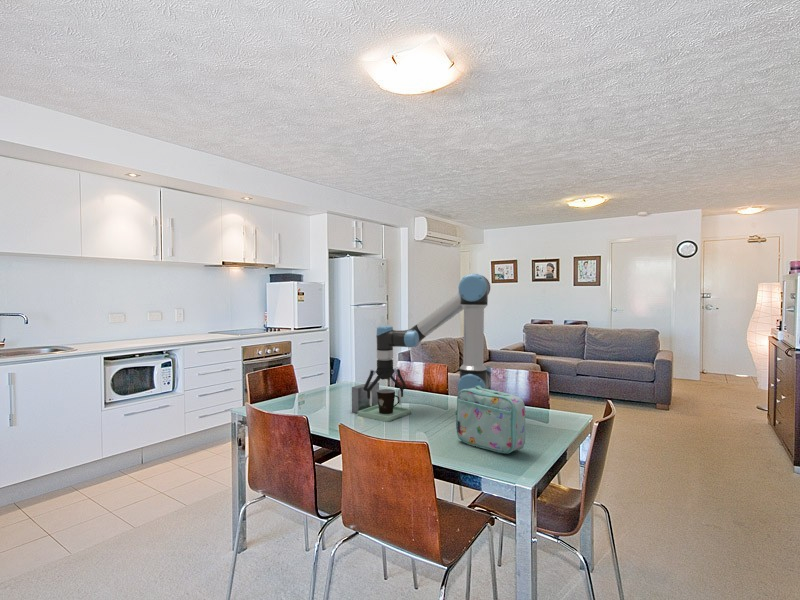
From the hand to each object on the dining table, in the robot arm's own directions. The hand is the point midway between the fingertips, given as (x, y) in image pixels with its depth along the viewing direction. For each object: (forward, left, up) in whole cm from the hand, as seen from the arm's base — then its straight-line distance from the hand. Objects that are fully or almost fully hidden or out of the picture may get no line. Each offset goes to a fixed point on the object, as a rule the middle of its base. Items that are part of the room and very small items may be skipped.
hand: (385, 404), depth 206 cm
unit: (+13, -2, -4) cm, 14 cm away
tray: (0, 0, -4) cm, 5 cm away
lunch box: (-57, +13, -5) cm, 58 cm away
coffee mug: (-1, -1, -4) cm, 4 cm away
